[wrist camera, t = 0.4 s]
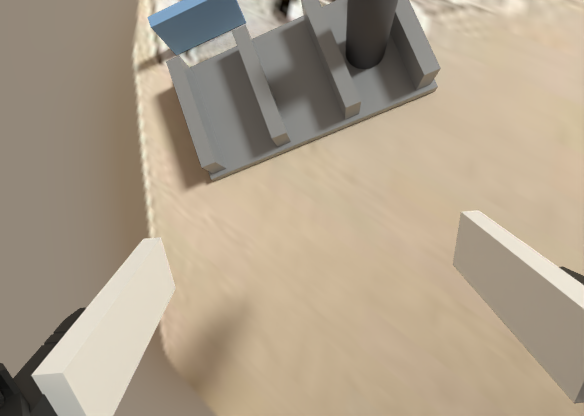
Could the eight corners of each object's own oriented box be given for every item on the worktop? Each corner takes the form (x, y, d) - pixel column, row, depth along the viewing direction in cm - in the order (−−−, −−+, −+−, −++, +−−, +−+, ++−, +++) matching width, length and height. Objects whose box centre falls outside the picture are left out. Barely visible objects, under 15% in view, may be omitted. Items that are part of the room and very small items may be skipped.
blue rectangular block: (246, 22, 35) (231, -12, 30) (176, 55, 36) (151, 27, 31) (242, 13, 36) (227, -22, 31) (173, 46, 37) (147, 17, 32)
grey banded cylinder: (392, 60, 32) (424, -44, 20) (353, 76, 32) (362, -16, 20) (376, 24, 32) (399, -97, 20) (338, 41, 33) (338, -68, 21)
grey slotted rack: (434, 91, 32) (448, 70, 28) (214, 180, 34) (198, 174, 30) (386, -16, 33) (392, -49, 29) (179, 78, 36) (160, 59, 32)
